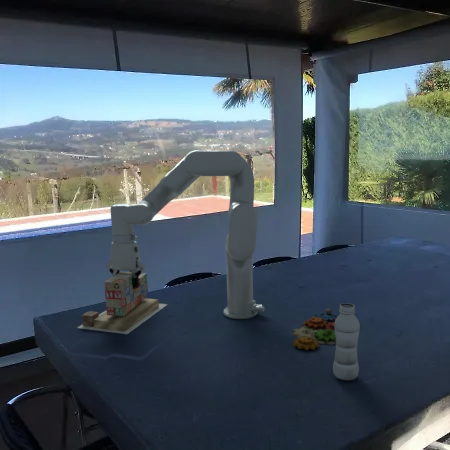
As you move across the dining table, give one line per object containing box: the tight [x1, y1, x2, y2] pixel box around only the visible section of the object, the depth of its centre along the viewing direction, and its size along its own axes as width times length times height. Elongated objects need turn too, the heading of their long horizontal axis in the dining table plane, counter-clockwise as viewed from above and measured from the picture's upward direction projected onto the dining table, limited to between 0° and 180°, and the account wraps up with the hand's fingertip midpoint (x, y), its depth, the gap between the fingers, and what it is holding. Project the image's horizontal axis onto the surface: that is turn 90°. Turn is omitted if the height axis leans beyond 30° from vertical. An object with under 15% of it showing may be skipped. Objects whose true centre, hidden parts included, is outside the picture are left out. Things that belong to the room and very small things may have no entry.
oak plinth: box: [94, 297, 160, 332], centre depth 166 cm, size 12×25×3 cm, turn 161°
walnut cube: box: [81, 310, 100, 327], centre depth 160 cm, size 4×4×4 cm
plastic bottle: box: [332, 302, 361, 381], centre depth 119 cm, size 6×7×20 cm
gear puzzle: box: [291, 308, 338, 351], centre depth 149 cm, size 31×16×4 cm, turn 143°
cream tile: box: [76, 303, 168, 335], centre depth 168 cm, size 20×30×1 cm, turn 161°
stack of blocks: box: [104, 271, 149, 316], centre depth 165 cm, size 21×6×12 cm, turn 166°
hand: (126, 286), depth 165 cm, fingers closed on stack of blocks, 6 cm apart
